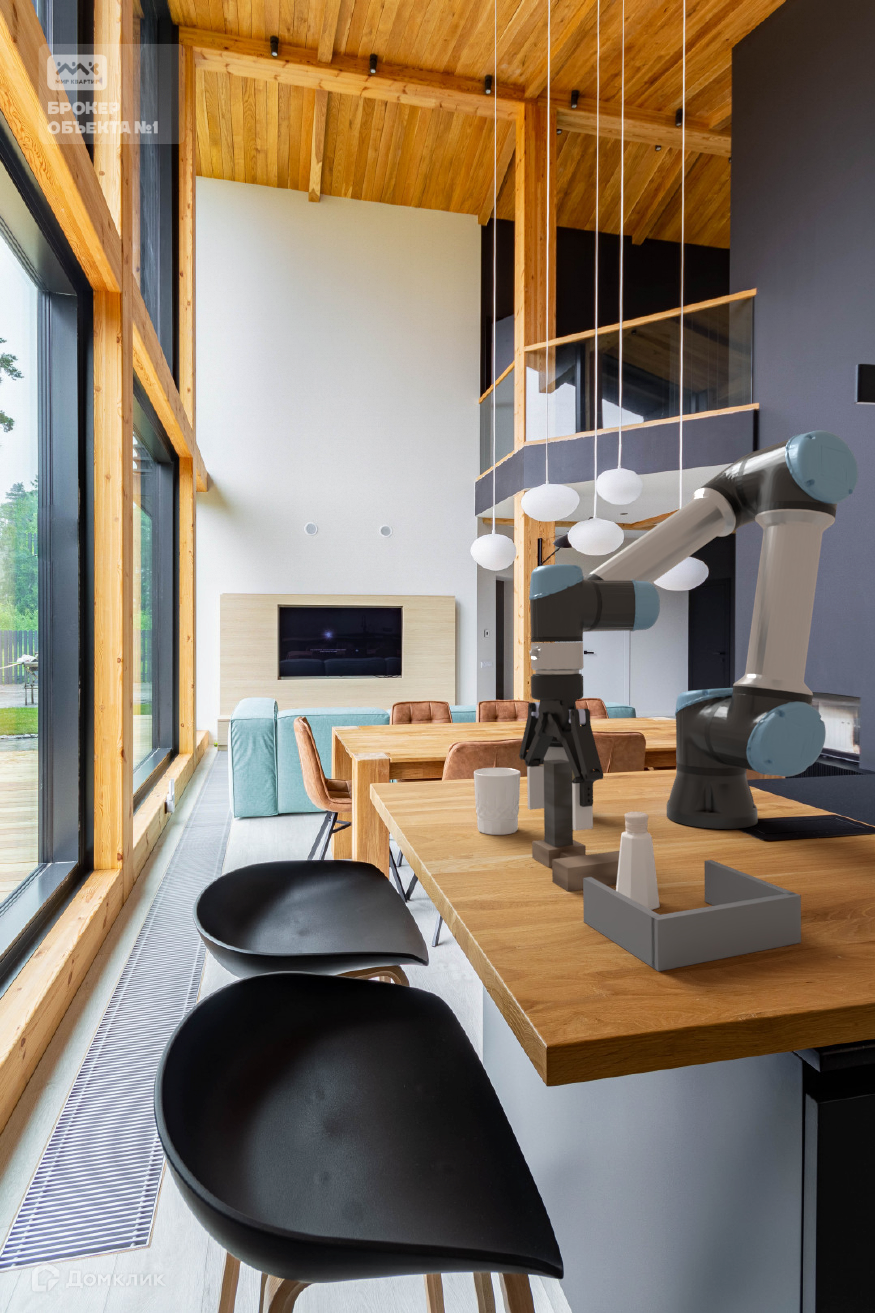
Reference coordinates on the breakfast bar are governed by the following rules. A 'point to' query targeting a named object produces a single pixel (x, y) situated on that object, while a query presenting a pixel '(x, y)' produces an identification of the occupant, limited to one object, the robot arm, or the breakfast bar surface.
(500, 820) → the white cup
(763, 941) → the box
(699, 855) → the breakfast bar surface
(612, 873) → the block post with base
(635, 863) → the salt shaker
